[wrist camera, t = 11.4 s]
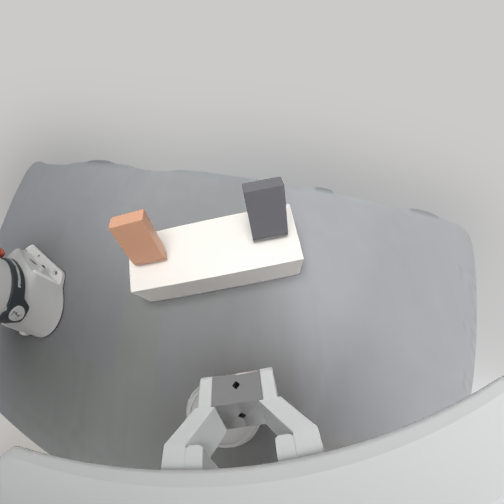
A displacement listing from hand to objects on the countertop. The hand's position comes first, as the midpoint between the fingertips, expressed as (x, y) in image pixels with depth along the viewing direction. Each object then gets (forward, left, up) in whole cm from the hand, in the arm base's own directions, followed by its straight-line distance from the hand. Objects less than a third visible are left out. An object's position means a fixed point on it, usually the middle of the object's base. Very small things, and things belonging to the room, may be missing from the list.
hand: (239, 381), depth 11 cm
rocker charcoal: (-11, +14, -26) cm, 32 cm away
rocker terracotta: (-22, +1, -26) cm, 35 cm away
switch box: (-17, +8, -35) cm, 40 cm away
